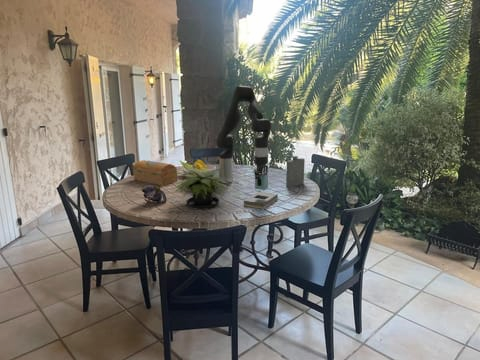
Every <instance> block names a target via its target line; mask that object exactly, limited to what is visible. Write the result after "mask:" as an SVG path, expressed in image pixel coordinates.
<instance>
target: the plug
mask: <svg viewBox="0 0 480 360" xmlns="http://www.w3.org/2000/svg"><path fill="white" fill-rule="evenodd" d="M254 189H255V190H260V191H266V190H268V189H269V174H267V175H266V174H263V175H262V178H261V186H258V185H257V179H255V178H254Z"/></svg>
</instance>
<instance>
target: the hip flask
mask: <svg viewBox="0 0 480 360" xmlns="http://www.w3.org/2000/svg"><path fill="white" fill-rule="evenodd" d="M305 163H306V161H305V158H299V156H298V155H292V159H291V160H290V159H289V160H287V161H286V173H285V174H286V176H285V177H286V179H285V181H286V184H285V185H286V186H285V187H286V188H288V189H289V188H292V187H297V186H300V184H301V185H304V183H305ZM296 185H297V186H296Z"/></svg>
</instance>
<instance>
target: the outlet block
mask: <svg viewBox="0 0 480 360" xmlns="http://www.w3.org/2000/svg"><path fill="white" fill-rule="evenodd" d="M278 195H279V194H278V193H272V192H265V191H264V192H263V191H258V192H256V193H254V194H252V195H251V196H249V197H247V198H246V199H244V200H243V206H245V207H250V208H258V209H265V208H266V207H268V206H270V205H271V204H272V203H274V202H276V201H277V200H278V197H279V196H278Z"/></svg>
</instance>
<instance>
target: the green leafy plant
mask: <svg viewBox="0 0 480 360" xmlns="http://www.w3.org/2000/svg"><path fill="white" fill-rule="evenodd" d="M192 165H193V167H194V168H195V165H194V164H192ZM192 170H193V169H192ZM192 170H191V171H190V170H189V171H188V174H187V175H189V176H186V175H185V180H186V179H188V178H187V177H189V180H190V178H195V177H196V176H195V175H194V172H195V171H196V170H198V169H196V170H195V171H194V170H193V171H194V172H193V171H192ZM198 171H199V172H200V170H198ZM198 171H197V172H198ZM192 172H193V173H192ZM195 174H196V173H195ZM199 174H201V173H199ZM199 174H198V175H199ZM196 175H197V174H196ZM190 176H192V177H190ZM187 188H188V187H187ZM187 188H186V189H187Z"/></svg>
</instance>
